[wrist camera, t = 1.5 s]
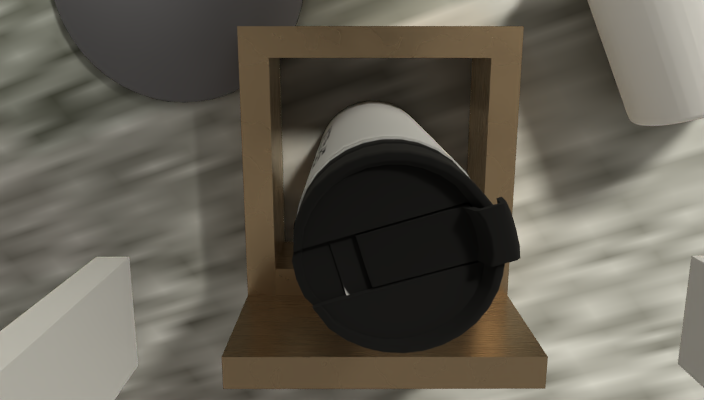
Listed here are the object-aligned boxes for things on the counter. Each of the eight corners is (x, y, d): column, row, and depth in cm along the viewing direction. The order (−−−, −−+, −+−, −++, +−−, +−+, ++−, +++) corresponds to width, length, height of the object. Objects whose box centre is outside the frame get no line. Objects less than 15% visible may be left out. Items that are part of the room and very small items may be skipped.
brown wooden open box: (252, 30, 35) (204, 17, 23) (499, 30, 35) (574, 17, 23) (261, 287, 38) (223, 388, 27) (486, 287, 38) (545, 388, 27)
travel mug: (442, 186, 37) (545, 331, 18) (337, 217, 37) (324, 391, 18) (414, 85, 36) (492, 119, 16) (306, 118, 36) (254, 191, 17)
